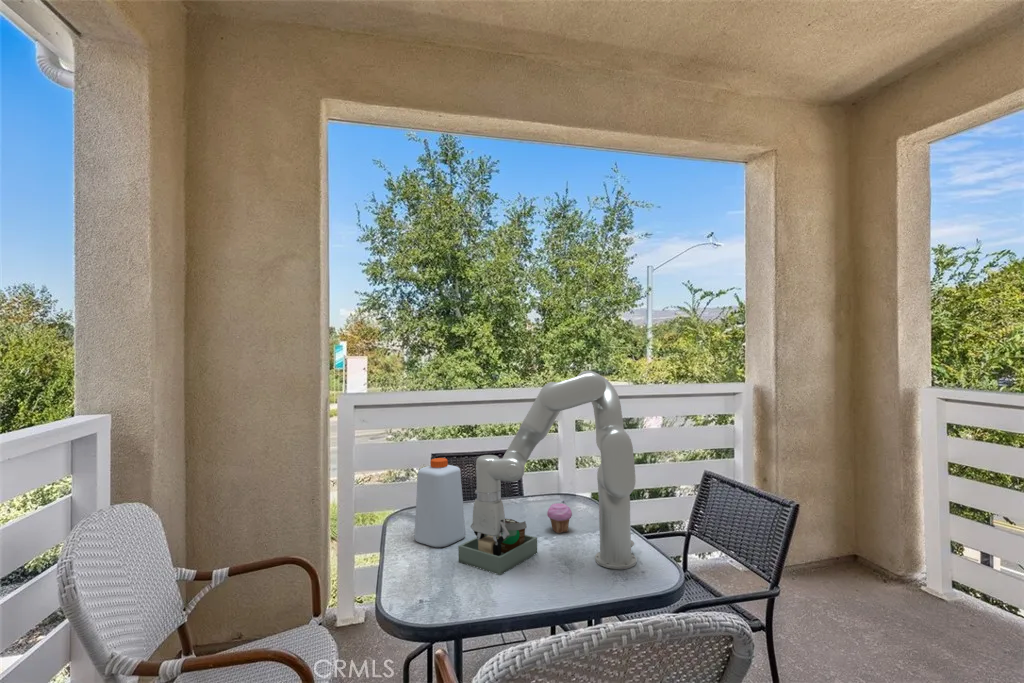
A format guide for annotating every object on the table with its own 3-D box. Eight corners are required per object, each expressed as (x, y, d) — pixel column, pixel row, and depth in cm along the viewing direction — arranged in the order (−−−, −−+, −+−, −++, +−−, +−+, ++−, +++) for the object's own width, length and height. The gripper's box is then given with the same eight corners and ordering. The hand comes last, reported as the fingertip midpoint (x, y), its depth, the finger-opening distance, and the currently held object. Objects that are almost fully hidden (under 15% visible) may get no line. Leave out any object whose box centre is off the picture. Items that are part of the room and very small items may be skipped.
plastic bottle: (470, 536, 180) (469, 457, 181) (440, 550, 168) (439, 466, 168) (439, 528, 189) (438, 453, 190) (409, 541, 177) (408, 461, 177)
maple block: (488, 550, 161) (488, 535, 162) (501, 554, 159) (500, 538, 159) (478, 556, 157) (478, 540, 158) (491, 559, 154) (490, 543, 155)
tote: (497, 542, 174) (497, 527, 175) (537, 553, 165) (537, 537, 165) (458, 561, 159) (458, 545, 159) (500, 575, 149) (500, 557, 149)
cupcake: (554, 537, 178) (554, 508, 179) (543, 529, 186) (542, 502, 186) (576, 533, 182) (576, 505, 182) (564, 525, 190) (563, 498, 190)
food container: (486, 549, 166) (485, 518, 167) (499, 543, 171) (498, 513, 171) (514, 558, 158) (514, 526, 158) (527, 552, 163) (526, 521, 163)
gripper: (460, 494, 160) (461, 552, 160) (503, 503, 150) (504, 564, 150) (475, 489, 166) (476, 544, 166) (517, 497, 156) (519, 556, 156)
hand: (489, 553), depth 158 cm, fingers closed on maple block, 5 cm apart
